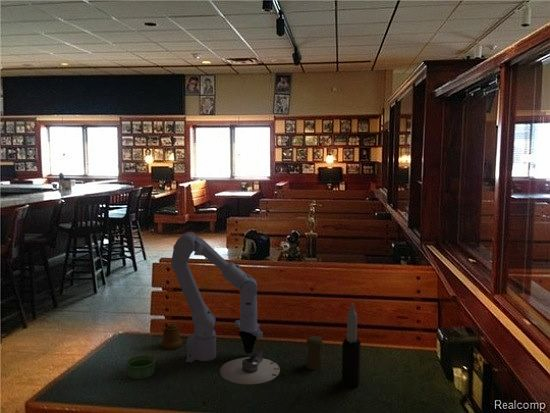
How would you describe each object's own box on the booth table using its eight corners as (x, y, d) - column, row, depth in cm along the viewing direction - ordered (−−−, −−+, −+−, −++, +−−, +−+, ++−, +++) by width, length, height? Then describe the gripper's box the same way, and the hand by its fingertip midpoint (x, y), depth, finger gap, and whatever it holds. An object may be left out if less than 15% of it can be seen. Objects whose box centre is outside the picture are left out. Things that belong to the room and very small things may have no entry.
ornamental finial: (174, 340, 173) (186, 346, 168) (157, 346, 168) (168, 352, 163) (174, 320, 173) (186, 325, 168) (156, 325, 167) (168, 330, 162)
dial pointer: (253, 373, 143) (253, 364, 142) (239, 370, 145) (239, 361, 144) (267, 361, 152) (267, 352, 151) (254, 358, 154) (254, 349, 153)
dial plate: (208, 380, 142) (208, 375, 141) (238, 357, 159) (238, 352, 159) (263, 394, 134) (263, 388, 133) (289, 368, 151) (289, 363, 151)
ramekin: (161, 373, 147) (161, 360, 146) (135, 383, 140) (135, 369, 140) (146, 365, 153) (145, 352, 152) (121, 374, 146) (120, 360, 146)
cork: (322, 375, 146) (323, 341, 145) (303, 373, 147) (304, 340, 146) (324, 367, 151) (325, 334, 150) (306, 365, 153) (306, 333, 152)
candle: (360, 380, 143) (362, 301, 140) (357, 387, 138) (359, 306, 135) (344, 377, 144) (345, 299, 142) (341, 384, 139) (342, 304, 137)
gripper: (270, 317, 151) (270, 357, 153) (247, 306, 163) (247, 342, 165) (252, 321, 147) (252, 362, 149) (230, 309, 159) (230, 347, 160)
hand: (248, 352), depth 156 cm, fingers closed
